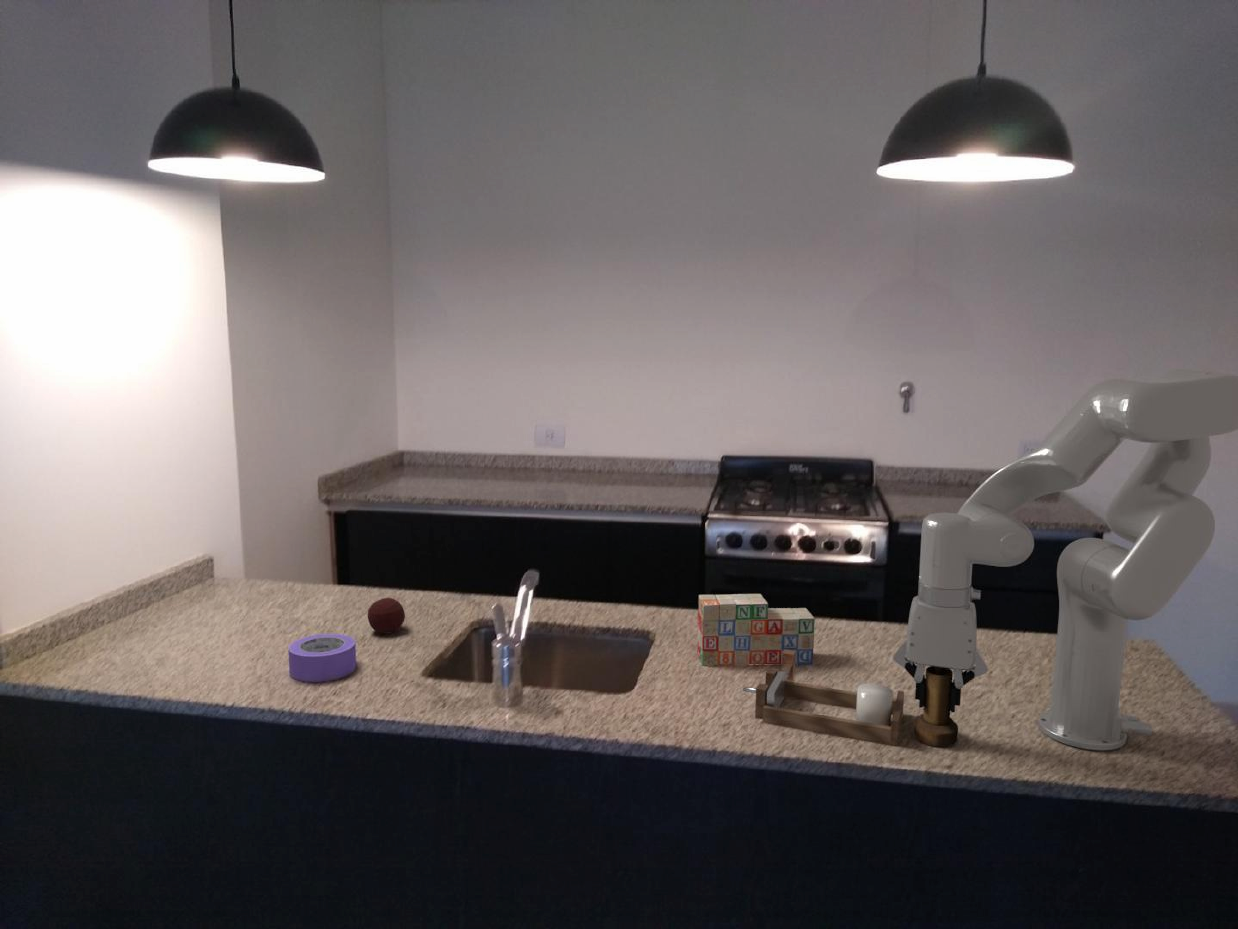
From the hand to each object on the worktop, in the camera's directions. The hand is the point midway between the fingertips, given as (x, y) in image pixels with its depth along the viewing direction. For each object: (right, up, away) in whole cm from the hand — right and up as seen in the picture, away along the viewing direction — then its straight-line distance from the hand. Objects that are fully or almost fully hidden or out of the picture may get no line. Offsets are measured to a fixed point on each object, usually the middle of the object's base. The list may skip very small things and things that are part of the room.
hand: (937, 705), depth 141 cm
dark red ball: (-98, +3, +45) cm, 108 cm away
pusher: (-24, -3, +15) cm, 29 cm away
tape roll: (-105, -1, +25) cm, 108 cm away
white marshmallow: (-9, -5, +5) cm, 11 cm away
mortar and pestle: (0, -5, +1) cm, 5 cm away
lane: (-15, -4, +8) cm, 17 cm away
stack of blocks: (-24, 0, +32) cm, 40 cm away
